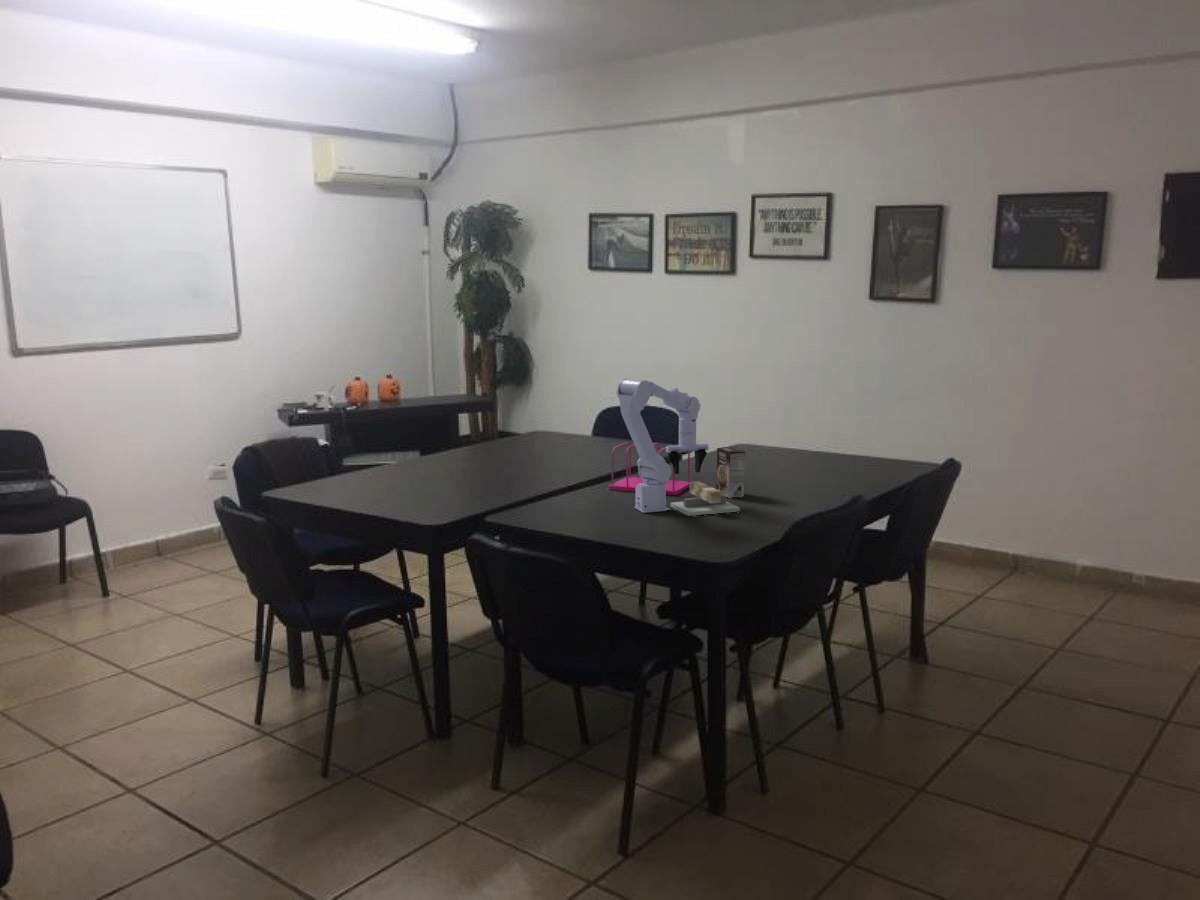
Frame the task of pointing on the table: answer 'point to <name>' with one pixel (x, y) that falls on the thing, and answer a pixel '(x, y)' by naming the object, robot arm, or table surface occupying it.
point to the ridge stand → (703, 506)
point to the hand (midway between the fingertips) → (687, 472)
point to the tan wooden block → (705, 492)
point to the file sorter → (631, 482)
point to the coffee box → (730, 471)
